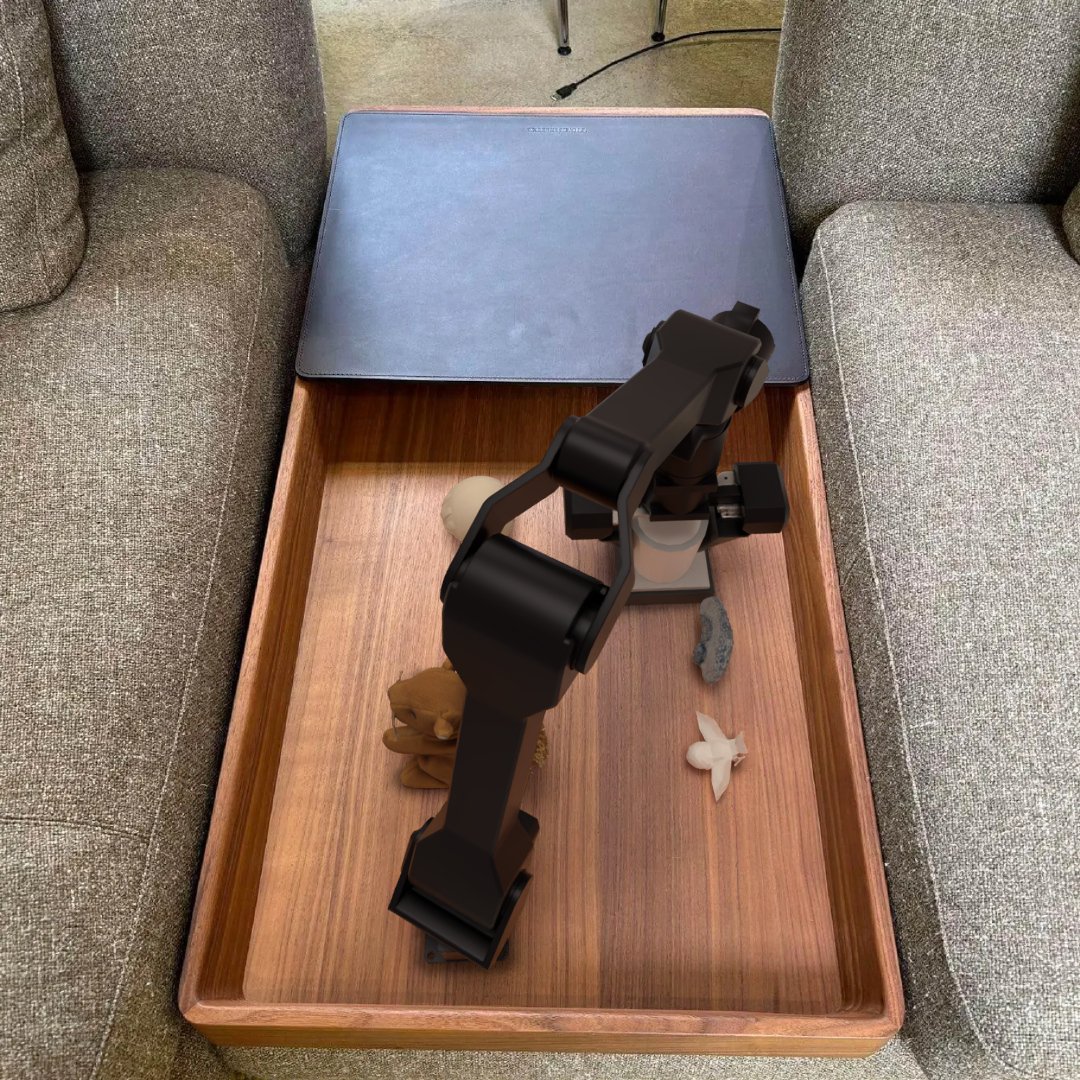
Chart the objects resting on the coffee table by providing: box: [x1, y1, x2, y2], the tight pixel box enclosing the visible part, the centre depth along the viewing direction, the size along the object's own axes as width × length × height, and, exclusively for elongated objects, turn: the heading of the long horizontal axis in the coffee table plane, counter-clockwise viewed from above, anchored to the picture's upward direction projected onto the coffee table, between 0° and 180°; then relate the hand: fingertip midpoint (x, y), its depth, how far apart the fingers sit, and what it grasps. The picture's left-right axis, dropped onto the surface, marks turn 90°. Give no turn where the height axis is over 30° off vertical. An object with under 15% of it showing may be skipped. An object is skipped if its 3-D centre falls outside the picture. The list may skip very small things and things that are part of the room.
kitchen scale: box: [611, 544, 716, 606], centre depth 88 cm, size 17×9×3 cm, turn 2°
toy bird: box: [685, 710, 749, 803], centre depth 75 cm, size 8×5×5 cm, turn 7°
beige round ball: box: [439, 475, 516, 543], centre depth 86 cm, size 7×7×7 cm
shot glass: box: [631, 517, 708, 584], centre depth 81 cm, size 7×7×7 cm
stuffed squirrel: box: [381, 657, 550, 789], centre depth 72 cm, size 10×14×13 cm
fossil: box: [691, 595, 735, 686], centre depth 80 cm, size 8×4×5 cm, turn 176°
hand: (662, 549), depth 83 cm, fingers closed on shot glass, 6 cm apart
